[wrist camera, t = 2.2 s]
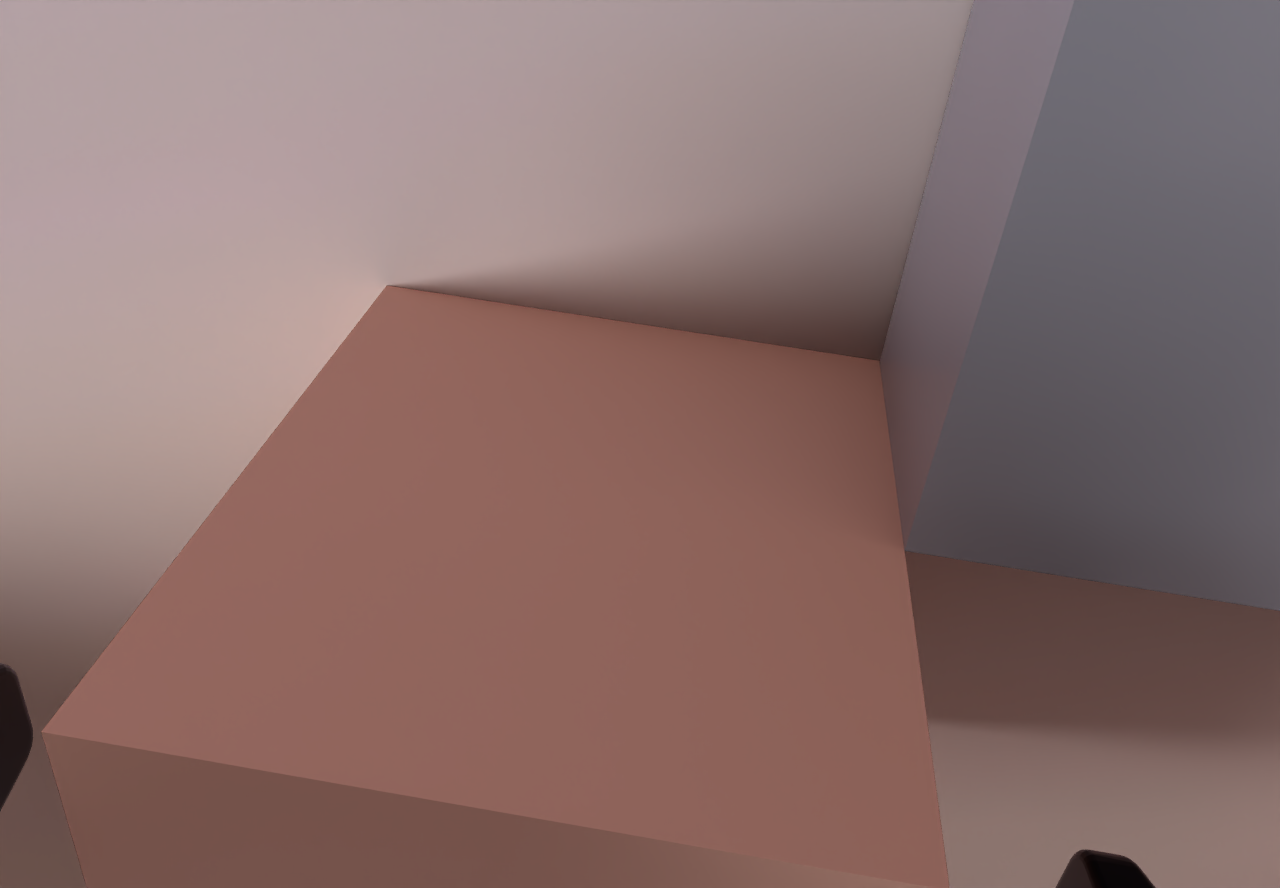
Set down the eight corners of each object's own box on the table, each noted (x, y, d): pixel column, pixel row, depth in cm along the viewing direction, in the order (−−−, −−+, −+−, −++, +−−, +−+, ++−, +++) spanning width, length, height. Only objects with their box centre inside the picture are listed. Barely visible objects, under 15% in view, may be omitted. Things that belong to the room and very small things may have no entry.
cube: (787, 708, 13) (781, 1276, 8) (397, 642, 14) (165, 1157, 9) (879, 358, 11) (950, 890, 6) (389, 283, 11) (42, 731, 6)
